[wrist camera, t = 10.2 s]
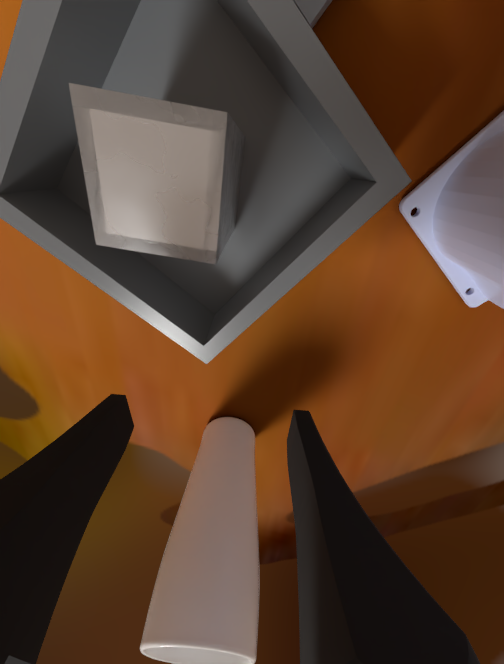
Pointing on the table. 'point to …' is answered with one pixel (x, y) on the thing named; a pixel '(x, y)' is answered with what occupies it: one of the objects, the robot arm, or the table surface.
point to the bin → (207, 92)
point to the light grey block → (158, 173)
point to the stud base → (312, 9)
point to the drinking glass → (211, 559)
